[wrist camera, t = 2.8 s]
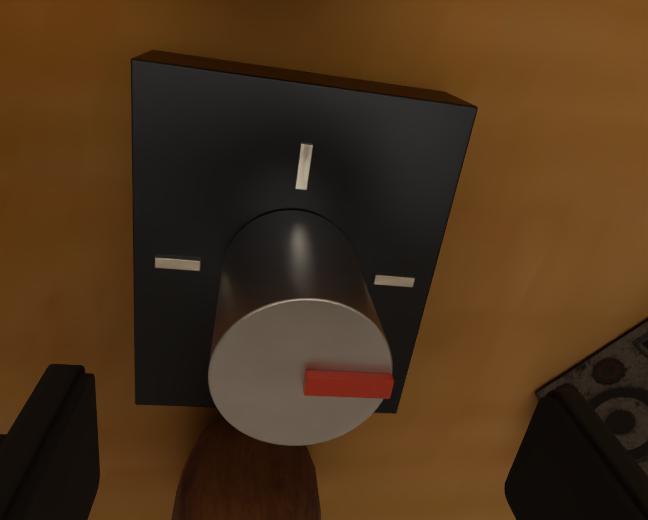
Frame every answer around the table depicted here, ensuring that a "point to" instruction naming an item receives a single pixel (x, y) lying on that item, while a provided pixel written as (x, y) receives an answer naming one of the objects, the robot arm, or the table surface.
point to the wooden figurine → (246, 479)
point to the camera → (616, 390)
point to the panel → (279, 196)
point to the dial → (296, 334)
